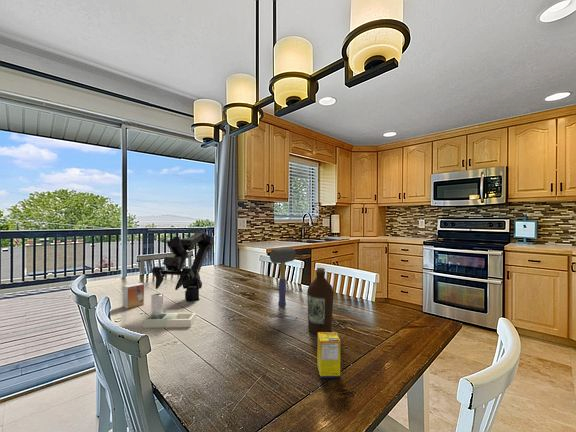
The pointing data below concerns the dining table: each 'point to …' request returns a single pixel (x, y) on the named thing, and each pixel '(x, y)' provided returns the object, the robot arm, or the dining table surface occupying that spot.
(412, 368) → the dining table surface
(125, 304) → the small box
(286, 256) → the rubber mallet
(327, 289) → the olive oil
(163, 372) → the dining table surface
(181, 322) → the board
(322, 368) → the supplement box
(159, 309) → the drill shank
